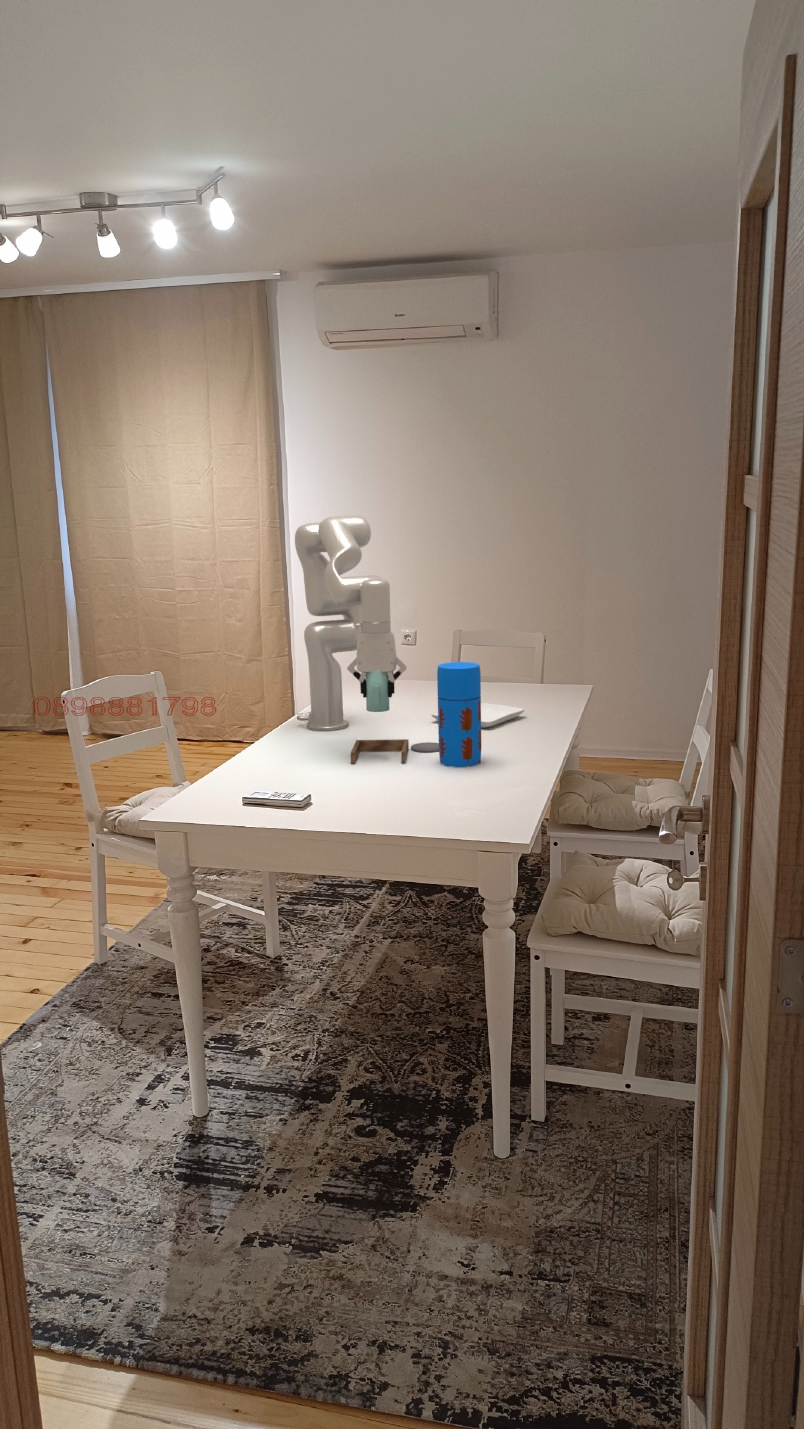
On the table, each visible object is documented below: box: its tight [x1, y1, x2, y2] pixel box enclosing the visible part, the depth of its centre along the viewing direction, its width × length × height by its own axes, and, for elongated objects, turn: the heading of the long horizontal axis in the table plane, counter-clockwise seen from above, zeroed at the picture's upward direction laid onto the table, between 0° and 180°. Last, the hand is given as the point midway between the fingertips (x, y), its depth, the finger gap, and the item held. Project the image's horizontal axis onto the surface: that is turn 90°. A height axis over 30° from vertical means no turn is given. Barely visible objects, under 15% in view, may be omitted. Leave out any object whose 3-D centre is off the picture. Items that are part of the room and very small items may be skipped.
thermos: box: [436, 661, 482, 768], centre depth 261 cm, size 11×11×25 cm
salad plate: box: [430, 702, 525, 729], centre depth 311 cm, size 21×21×3 cm
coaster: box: [410, 741, 439, 754], centre depth 279 cm, size 9×9×1 cm
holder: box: [350, 738, 410, 765], centre depth 271 cm, size 14×14×3 cm
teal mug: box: [365, 670, 390, 713], centre depth 267 cm, size 8×6×11 cm
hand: (377, 695), depth 268 cm, fingers closed on teal mug, 6 cm apart
